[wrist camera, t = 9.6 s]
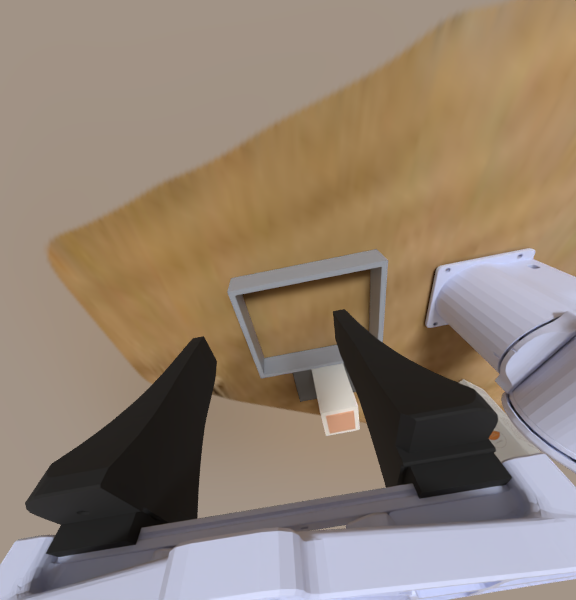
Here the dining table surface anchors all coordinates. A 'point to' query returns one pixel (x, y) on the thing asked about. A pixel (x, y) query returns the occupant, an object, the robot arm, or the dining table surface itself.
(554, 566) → the robot arm
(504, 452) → the small box
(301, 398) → the mat
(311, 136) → the dining table surface
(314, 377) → the block
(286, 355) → the grey rectangular frame
